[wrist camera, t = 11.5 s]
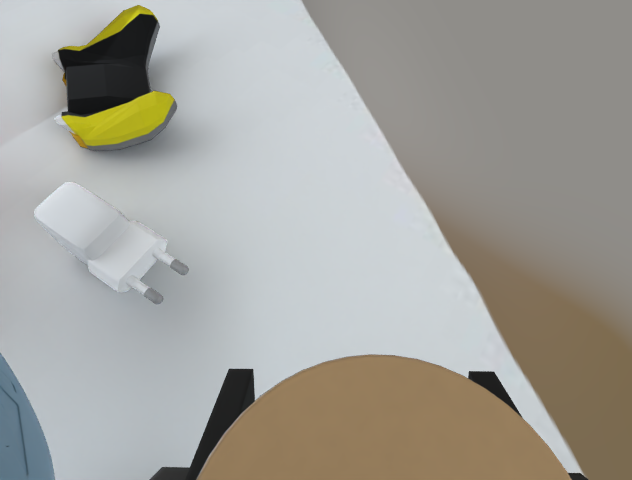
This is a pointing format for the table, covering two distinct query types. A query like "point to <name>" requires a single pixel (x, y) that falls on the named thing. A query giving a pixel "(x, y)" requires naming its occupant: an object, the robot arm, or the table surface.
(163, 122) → the black and yellow shoe
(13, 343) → the table surface
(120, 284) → the power adapter
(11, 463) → the robot arm
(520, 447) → the canister
